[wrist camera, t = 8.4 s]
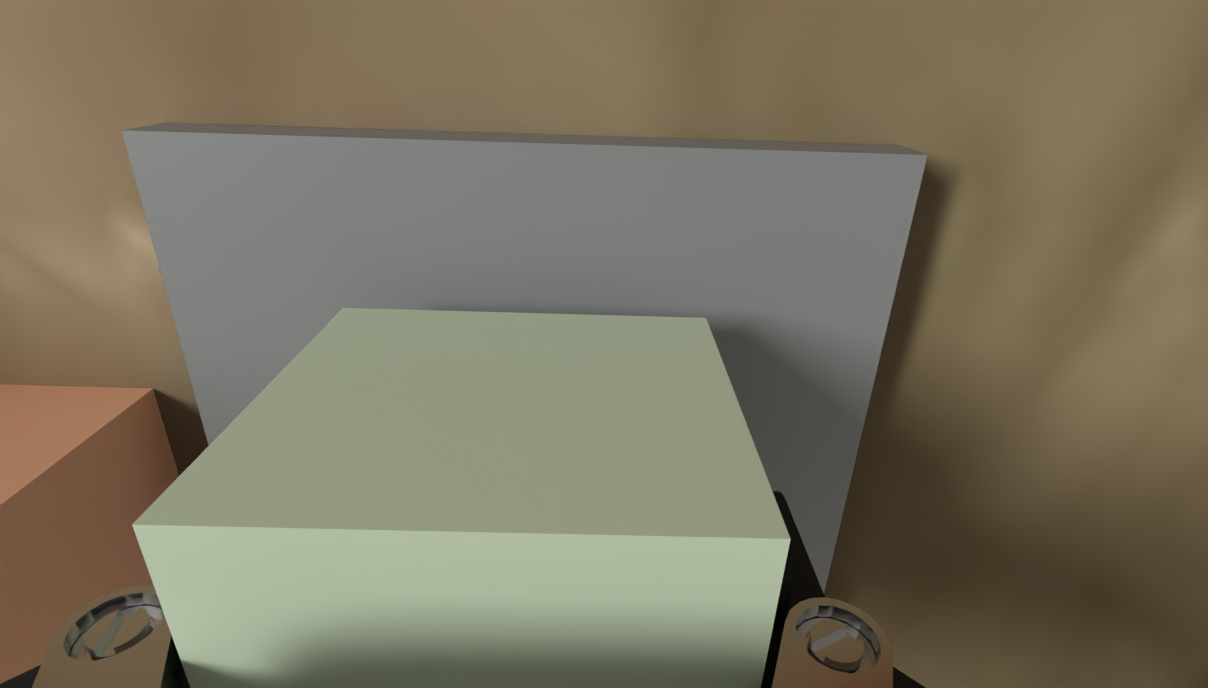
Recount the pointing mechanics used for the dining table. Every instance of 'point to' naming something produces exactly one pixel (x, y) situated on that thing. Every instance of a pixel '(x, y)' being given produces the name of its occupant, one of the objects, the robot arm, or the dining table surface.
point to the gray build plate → (546, 258)
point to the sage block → (477, 513)
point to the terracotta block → (71, 505)
